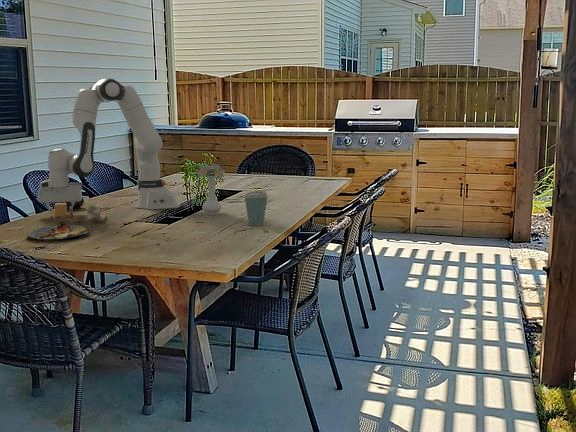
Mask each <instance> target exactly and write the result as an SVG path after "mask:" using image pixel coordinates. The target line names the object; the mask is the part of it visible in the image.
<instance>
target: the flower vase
mask: <svg viewBox="0 0 576 432" xmlns="http://www.w3.org/2000/svg"><path fill="white" fill-rule="evenodd" d="M225 173H226V170H224V169H223V168H221V165H220V164H218V163H217V164H216V163H211V164H210V165H208V164H207V163H206V162H205V163H204V164H199V169H197V170H196V175H197V177H196V180H199V179H202V178H203V177H204V176H205V177H206V178H207V182H208V183H207V185H208V190H207V193H208V194H207V198H206V199H205V201H204V203H203V204H202V207H201V208H202V210H203V212H205V215H207V216H215V215H219V213H220V211H221V210H222V205H221V203H220V202H219V201H218V199H217V197H216V190H215V189H216V188H215V187H216V186H215V184H216V181H215V180H216V178H217V179H218V180H220V181H221V180H222V179H223V178H224V176H225V175H224V174H225Z"/></svg>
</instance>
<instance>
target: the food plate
mask: <svg viewBox="0 0 576 432" xmlns="http://www.w3.org/2000/svg"><path fill="white" fill-rule="evenodd" d="M90 231H91V230H90V227H89V226H84V225H83V226H82V225H75V224H60V225H56V226H47V227H46V226H45V227H41V228H37V229H32V230H29V231H28V232H26V233H25V235H26V236H27V237H29V238H32V239H37V240H41V241H45V242H47V241H49V242H51V241H54V240H55V239H56V241H57V240H58V241H59V240H65V239H67V240H68V239H69V238H76V237H78V236H82V235H87V234H88V233H89V232H90Z"/></svg>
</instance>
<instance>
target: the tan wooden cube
mask: <svg viewBox="0 0 576 432" xmlns="http://www.w3.org/2000/svg"><path fill="white" fill-rule="evenodd" d="M53 207H54V208H53V209H54V217H62V216H68V210H67V203H65V202H55V203H54V205H53Z"/></svg>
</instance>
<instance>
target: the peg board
mask: <svg viewBox="0 0 576 432" xmlns="http://www.w3.org/2000/svg"><path fill="white" fill-rule="evenodd" d="M100 209H101V208H100V204H88V205H87V206H86V213H87V214H77V215H74V209H70V210H68V211H69V212H68V213H69V214H68V215H66V216H60V218H59V219H58V220H57V226H60V224H68V225H87V224H88V225H89V224H91V225H92V224H93V225H94V224H95V225H96V224H105V222H106V219H107V214H105V213H104V214H101V210H100Z"/></svg>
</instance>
